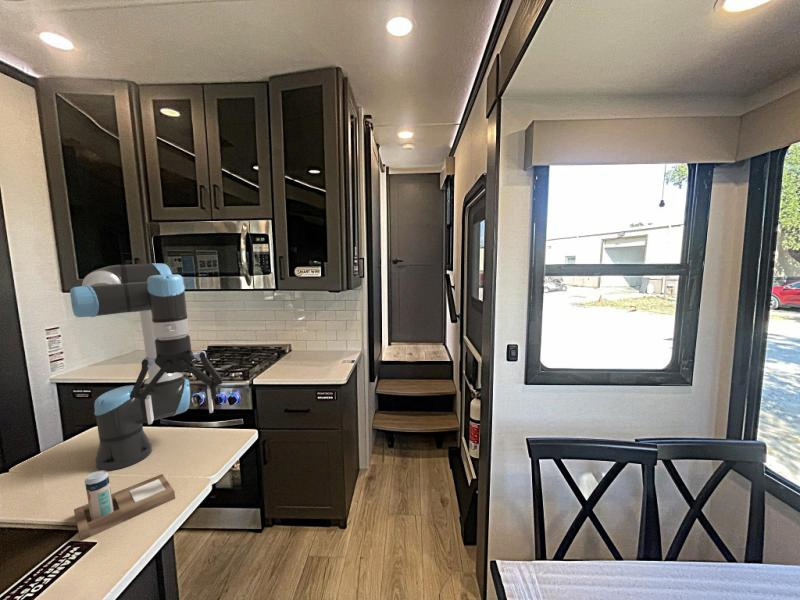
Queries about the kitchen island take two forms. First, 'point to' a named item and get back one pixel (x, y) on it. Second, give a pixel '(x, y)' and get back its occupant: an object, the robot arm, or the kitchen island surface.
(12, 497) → the kitchen island surface
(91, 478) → the beer can
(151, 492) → the pocket board
